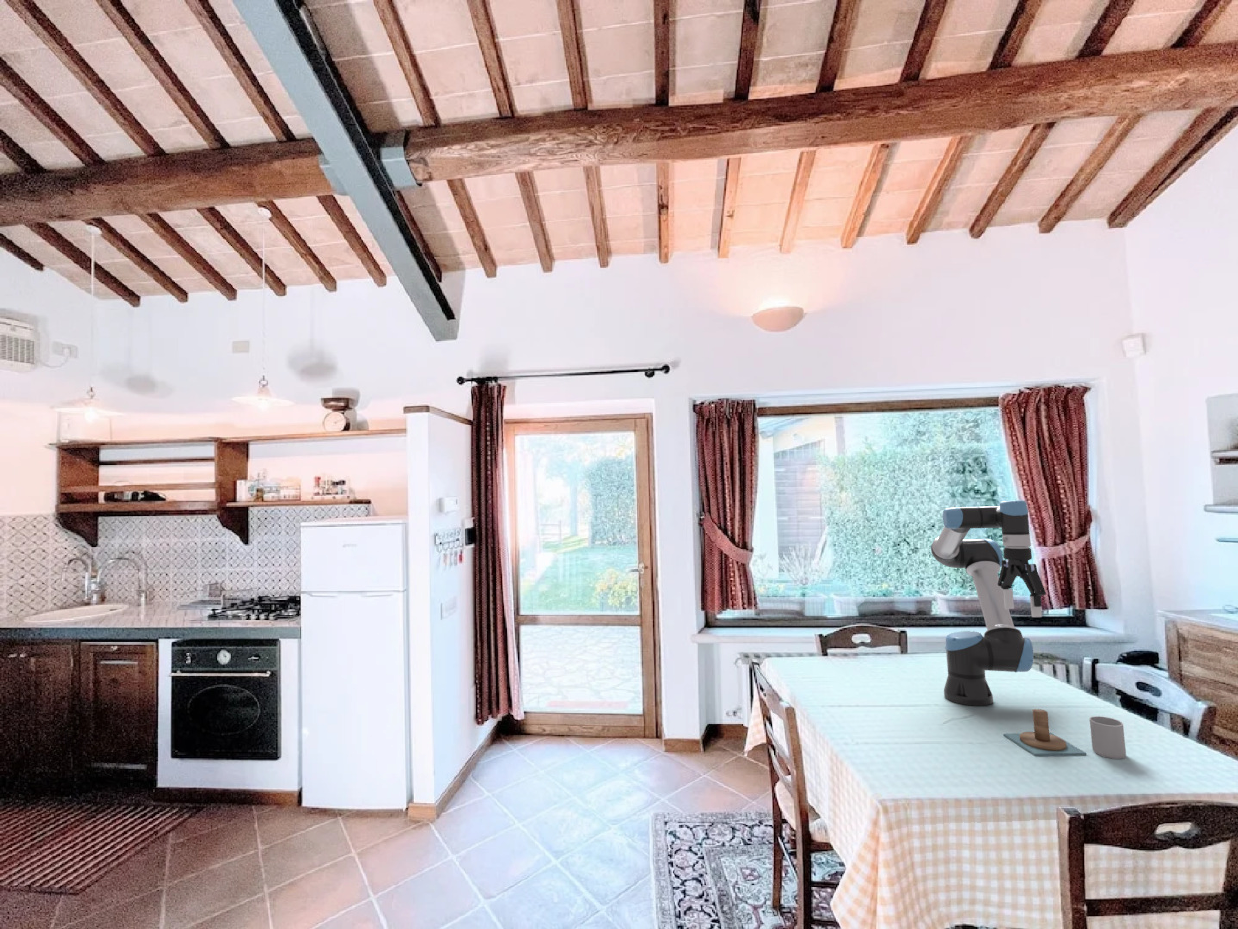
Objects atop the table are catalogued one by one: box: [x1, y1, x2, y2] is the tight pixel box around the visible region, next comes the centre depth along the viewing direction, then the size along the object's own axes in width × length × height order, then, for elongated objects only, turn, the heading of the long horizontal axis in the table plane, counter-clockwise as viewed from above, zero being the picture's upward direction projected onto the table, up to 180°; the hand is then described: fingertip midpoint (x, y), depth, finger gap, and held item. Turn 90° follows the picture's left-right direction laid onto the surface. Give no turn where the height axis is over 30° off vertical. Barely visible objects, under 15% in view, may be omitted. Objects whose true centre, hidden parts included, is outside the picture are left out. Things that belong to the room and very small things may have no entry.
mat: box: [1003, 732, 1087, 757], centre depth 166 cm, size 14×14×1 cm
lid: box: [1020, 708, 1067, 751], centre depth 166 cm, size 11×11×9 cm
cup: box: [1089, 715, 1127, 760], centre depth 160 cm, size 7×10×9 cm
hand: (1022, 612), depth 185 cm, fingers open, 13 cm apart
